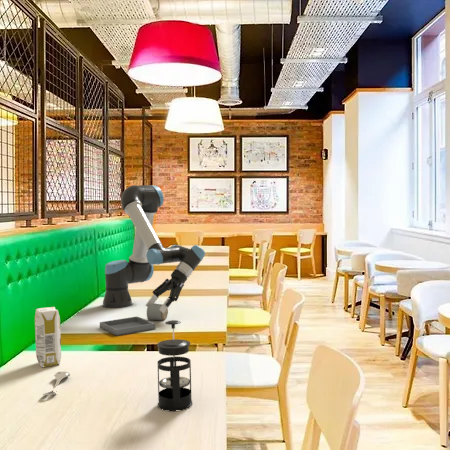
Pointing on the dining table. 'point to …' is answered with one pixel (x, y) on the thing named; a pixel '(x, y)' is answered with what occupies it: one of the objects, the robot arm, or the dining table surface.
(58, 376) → the grey elongated piece
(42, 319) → the juice carton
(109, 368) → the dining table surface
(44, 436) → the dining table surface
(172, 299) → the robot arm
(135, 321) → the tray
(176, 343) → the french press
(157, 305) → the ceramic mug
